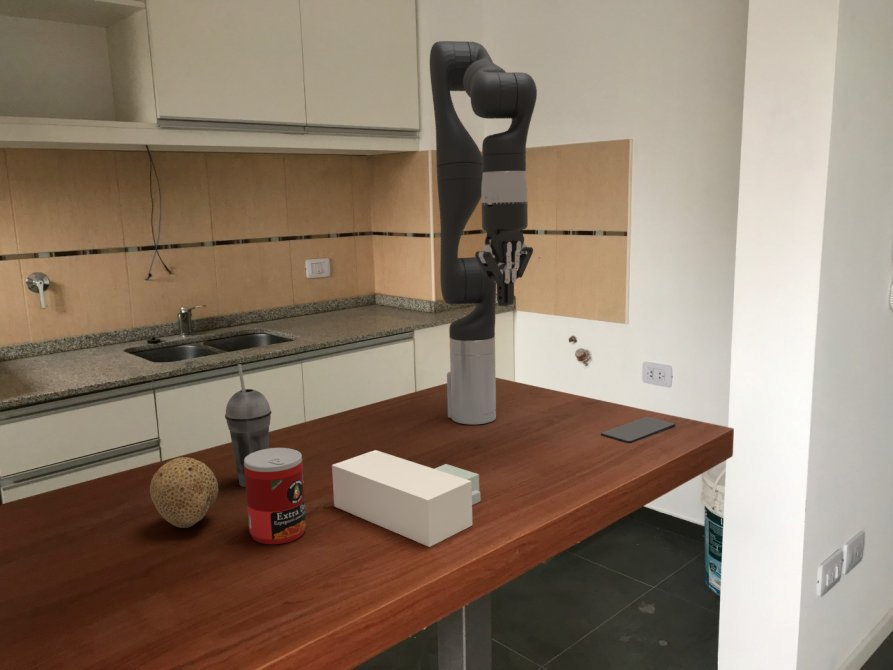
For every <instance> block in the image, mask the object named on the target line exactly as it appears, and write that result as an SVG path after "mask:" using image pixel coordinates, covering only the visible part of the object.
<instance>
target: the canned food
mask: <svg viewBox="0 0 893 670" xmlns="http://www.w3.org/2000/svg"><path fill="white" fill-rule="evenodd" d="M244 470H245V484H246V487H245V496H246V505H247V517H248V518H247V519H248V530H249V531H248V532H249V533H250V536H251V538H252V539H253V541H255V542H257V543H260V544H264V545H281V544H286V543H290V542H293V541H296V540H297V539H299V538H301V537H302V536H303V535H304V533H305V531H306V527H307V513H306V499H305V497H306V496H305V495H306V494H305V481H304V465H303V455H302V453H301V452H300V451H299V450H296V449H293V448H288V447H269V449H263V450H259V451H256V452H253V453H251V454H249V455H248V456H246V457H245V459H244Z"/></svg>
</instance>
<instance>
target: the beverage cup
mask: <svg viewBox="0 0 893 670" xmlns="http://www.w3.org/2000/svg"><path fill="white" fill-rule="evenodd" d="M237 367H238V368H237V369H238V376H239V380H240V381H239V383H240V387H241V389H240V390H239V391H236V392H235V393H234V394H233V395H232V396H230V399H229V400H228V401H227V404H226V407H225V414H224V418H225V420H226V424H227V427H228V430H229V434H230V439H231V446H232V451H233V456H234V457H233V458H234V463H235V468H236V474H237V477H238V481H239V482H238V483H239V485H240V486H241V487H243V488H246V484H245V470H244V459H245V457H246V456H248V455H249V454H251V453H253V452H256V451H259V450H263V449H269V448H270V447H269V446H270V442H269V441H270V425H271V419H272V418H271V416H272V410H271V407H270V403H269V401H268V399H267V398H266V396H265V395H264V394H263V393H262V392H261V391H258V390H256V389H252V388H246V386H245V385H246V384H245V381H244V375H243V368H242V367H243V366H242V364H240V363H239V364H237Z"/></svg>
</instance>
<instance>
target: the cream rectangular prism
mask: <svg viewBox="0 0 893 670" xmlns="http://www.w3.org/2000/svg"><path fill="white" fill-rule="evenodd" d="M331 469H332V471H331V473H332V487H333V488H332V490H333V504H334V505H333V507H334V508H337V509H340V510H342V511H344V512H347V513H349V514H352V515H353V516H355V517H359V518H360V519H363V520H365V521H368V522H370V523H372V524H375V525H377V526H379V527H382V528H384V529H387V531H392V532H393V533H396V534H397V535H398V534H399V535H401V536H403V537H406V538H407V539H410V540H413V541H415V542H417V543H418V544H421V545H424V546H425V547H428V548H431V547H433V546H434V545H436V544H437V545H438V544H439V543H441V542H442V541H444V540H446V539H448V538H450V537H452V536H454V535H456V534H458V533H460V532H461V531H462V532H463V531H464V530H466V529H468V528H470V527H471V526H473V505H476V504H478V503H479V502H481V495H482V494H481V491H480V490H479V491H477V490H475V491H472V481H470V480H467V479H464V478H461V477H457V476H454V475H451V474H448V473H445V472H442V471H439V470H436V469H435V468H432V467H430V466H426V465H423V464H420V463H417V462H415V461H410V460H407V459H404V458H402V457H398V456H396V455H392V454H389V453H386V452H383V451H380V450H376V449H374V450H373V451H368V452H366V453H363V454H360V455H357V456H354V457H351V458H348V459H346V460H343V461H340V462H337V463H333V464H331Z"/></svg>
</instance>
